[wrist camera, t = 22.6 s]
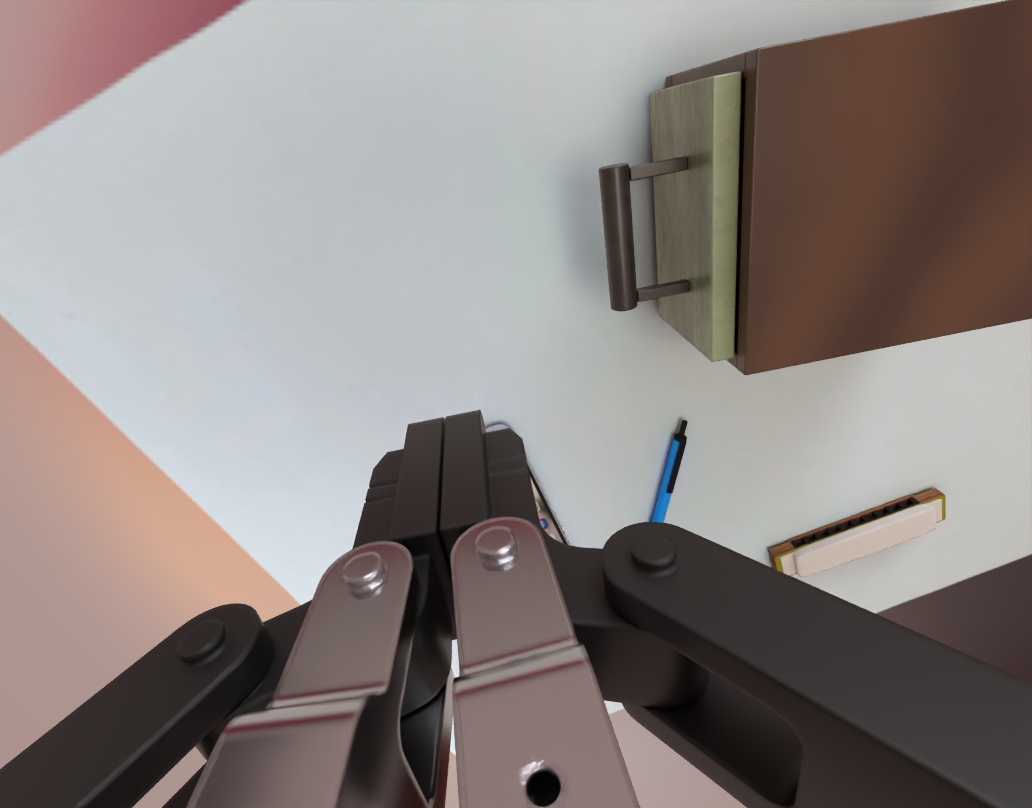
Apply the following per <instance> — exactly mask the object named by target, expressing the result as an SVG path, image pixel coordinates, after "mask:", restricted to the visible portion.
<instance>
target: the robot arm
mask: <svg viewBox="0 0 1032 808" xmlns="http://www.w3.org/2000/svg"><path fill="white" fill-rule="evenodd" d="M369 487H370V489H368V492H367V496H366V499H365V500H366V503H364V507H363V511H362V515H361V519H360V522H359V526H358V530H357V534H356V538H355V542H354V545H353V549H352V550H351V551H349V552H347V553H345V554H344V555H342V556H341V557H340V558H338V559H337V560H336V561H335V562H334V563H332V565H331V566H330V567H329V568H328V569H327V570H326V572H325V573H324V574H323V576H322V578H321V580H320V582H319V584H318V587H317V589H316V592H315V594H314V597H313V599H312V600H311V601H309V602H307V603H305V604H303V605H301V606H299V607H296V608H294V609H292V610H290V611H288V612H285V613H283V614H281V615H279V616H276V617H274V618H272V619H270V620H268V621H265V622H262V620H261V619H260V617H259V615H258V614H257V612H256V610H255V609H253V608H252V607H251V606H248V605H246V604H227V605H222V606H219V607H215V608H213V609H210V610H208V611H206V612H204V613H202V614H200V615H198V616H196V617H194V618H193V619H191V620H189V621H188V622H187V623H185V624H184V625H182V626H181V627H180V628H178V629H177V630H176V631H175V632H173V633H172V634H171V635H170V636H168V637H167V638H166V639H164V640H163V641H162V642H161V643H159V644H158V645H157V646H156V647H154V648H153V649H152V650H151V651H149V652H148V653H147V654H145V655H144V656H143V657H142V658H141V659H139V660H138V661H137V662H135V663H134V664H133V665H132V666H130V667H129V668H128V669H126V670H125V671H124V672H123V673H121V674H120V675H119V676H118V677H116V678H115V679H114V680H113V681H111V682H110V683H109V684H107V685H106V686H105V687H104V688H102V689H101V690H100V691H99V692H98V693H96V694H95V695H94V696H92V697H91V698H90V699H88V700H87V701H86V702H85V703H84V704H82V705H81V706H80V707H78V708H77V709H76V710H75V711H73V712H72V713H71V714H70V715H69V716H67V717H66V718H64V720H62V721H61V722H59V723H58V724H57V725H56V726H54V727H53V728H52V729H51V730H49V731H48V732H47V733H46V734H44V735H43V736H42V737H41V738H39V739H38V740H37V741H35V742H34V743H33V744H32V745H30V746H29V747H28V748H27V749H25V750H24V751H23V752H21V753H20V754H19V755H18V756H16V757H15V758H14V759H13V760H11V761H10V762H9V763H7V764H6V765H5V766H4V767H3V768H2V769H0V808H132V807H133V806H134V805H135V804H136V803H137V802H138V801H139V800H140V799H141V798H142V797H143V796H144V795H145V794H146V793H147V792H148V791H149V790H150V789H151V788H152V787H154V786H155V784H156V783H158V782H159V780H160V779H162V778H163V777H164V776H165V774H167V773H168V772H169V771H170V770H171V769H172V768H173V767H174V766H175V765H176V764H177V763H178V762H179V761H180V760H181V759H182V758H183V757H184V756H185V755H186V754H187V753H188V752H189V751H191V749H193V748H194V747H195V746H196V748H197V749H198V750H199V751H200V753H201V754H202V755H203V756H204V758H205V759H206V760H207V762H206V763H205V765H203V766H202V767H201V768H200V769H199V770H198V771H197V772H196V773H195V774H194V775H193V776H192V777H191V779H190V780H189V781H188V782H187V783H186V784H185V785H184V786H183V787H182V788H181V789H180V790H179V791H178V792H177V793H176V794H175V795H174V796H173V797H172V798H171V799H170V800H169V801H168V802H167V803H166V804H165V805H164V806H163V807H162V808H445V800H446V787H447V776H448V764H449V753H450V741H451V729H452V718H453V719H454V734H455V749H456V763H457V780H458V795H459V808H640V806H639V803H638V800H637V797H636V794H635V791H634V788H633V785H632V782H631V779H630V776H629V773H628V770H627V767H626V765H625V762H624V759H623V756H622V753H621V750H620V747H619V744H618V741H617V738H616V735H615V733H614V730H613V726H612V723H611V720H610V718H609V715H608V712H607V709H606V706H605V703H604V700H606V701H613V702H620V703H622V704H623V706H624V708H625V709H626V711H627V712H628V713H629V714H630V716H631V717H633V718H634V719H635V720H636V721H637V722H639V723H640V724H641V725H642V726H643V727H645V728H646V729H647V730H649V731H650V732H651V733H652V734H654V735H655V736H656V737H658V738H659V739H660V740H661V741H663V742H664V743H665V744H667V745H668V746H669V747H670V748H672V749H673V750H674V751H675V752H677V753H678V754H679V755H681V756H682V757H683V758H684V759H686V760H687V761H688V762H690V763H691V764H692V765H693V766H695V767H696V768H697V769H699V770H700V771H701V772H703V773H704V774H705V775H706V776H707V777H709V778H710V779H711V780H713V781H714V782H715V783H716V784H718V785H719V786H720V787H722V788H723V789H724V790H725V791H727V792H728V793H729V794H731V795H732V796H733V797H734V798H736V799H737V800H738V801H740V802H741V803H742V804H743V805H745V806H746V807H747V808H1032V683H1030V682H1028V681H1026V680H1023V679H1021V678H1019V677H1017V676H1014V675H1012V674H1010V673H1007V672H1005V671H1003V670H1001V669H998V668H996V667H994V666H992V665H989V664H987V663H985V662H983V661H981V660H978V659H976V658H974V657H971V656H969V655H967V654H965V653H962V652H960V651H958V650H956V649H953V648H951V647H949V646H946V645H944V644H942V643H940V642H938V641H935V640H933V639H931V638H929V637H926V636H924V635H922V634H920V633H917V632H915V631H913V630H911V629H908V628H906V627H904V626H901V625H899V624H897V623H895V622H892V621H890V620H888V619H886V618H884V617H881V616H879V615H877V614H875V613H872V612H870V611H868V610H866V609H863V608H861V607H859V606H856V605H854V604H852V603H850V602H847V601H845V600H843V599H841V598H838V597H836V596H834V595H832V594H829V593H827V592H825V591H823V590H820V589H818V588H816V587H814V586H811V585H809V584H807V583H805V582H802V581H800V580H798V579H796V578H793V577H791V576H789V575H787V574H784V573H782V572H780V571H778V570H775V569H773V568H771V567H768V566H766V565H764V564H762V563H759V562H757V561H755V560H753V559H750V558H748V557H746V556H744V555H741V554H739V553H737V552H735V551H732V550H730V549H728V548H726V547H723V546H721V545H719V544H717V543H714V542H712V541H710V540H708V539H705V538H703V537H701V536H699V535H696V534H694V533H692V532H690V531H687V530H685V529H683V528H680V527H678V526H675V525H671V524H667V523H661V522H643V523H637V524H633V525H630V526H627V527H625V528H623V529H621V530H619V531H617V532H616V533H615V534H613V535H612V536H611V537H610V538H609V539H608V540H607V542H606V544H605V545H604V547H603V549H597V548H582V547H575V546H570V545H567V544H564V543H561V542H559V541H557V540H556V539H554V538H552V537H551V536H550V535H548V533H547V532H546V531H545V530H544V529H543V527H542V526H541V523H540V520H539V516H538V511H537V507H536V502H535V497H534V492H533V488H532V483H531V478H530V474H529V469H528V464H527V459H526V455H525V450H524V445H523V440H522V438H520V437H519V436H518V435H517V434H516V433H515V432H514V431H512V430H511V429H510V428H506V429H501V430H496V431H491V432H486V429H485V425H484V421H483V417H482V413H481V410H477V411H472V412H467V413H462V414H457V415H452V416H447V417H446V419H445V418H444V417H442V418H437V419H432V420H427V421H422V422H417V423H412V424H409V425H408V428H407V433H406V439H405V445H404V449H401V450H396V451H391V452H387V453H386V455H385V456H384V457H383V458H382V459H381V460H380V462H379V463H378V464H377V465H376V466H375V468H374V469H373V473H372V476H371V480H370V484H369ZM455 639H457V644H458V656H459V669H460V676H459V677H457V678H454V674H453V671H452V668H451V661H452V640H455Z"/></svg>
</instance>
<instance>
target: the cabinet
mask: <svg viewBox="0 0 1032 808" xmlns="http://www.w3.org/2000/svg"><path fill="white" fill-rule="evenodd" d="M737 71H740V72H741V92H743V91H745V116H744V149H743V183H742V216H741V249H740V283H739V316H738V322H737V321H735V335H734V358H730V359H726V360H727V361H728V362H730V363H731V364H732V365H733V366H735V367H736V368H737V369H738V370H739V371H740V372H742V373H743V374H744V375H750V374H755V373H760V372H765V371H770V370H775V369H780V368H785V367H790V366H795V365H800V364H805V363H810V362H815V361H820V360H825V359H830V358H835V357H840V356H845V355H850V354H855V353H860V352H865V351H870V350H875V349H880V348H885V347H890V346H895V345H901V344H906V343H911V342H916V341H921V340H926V339H931V338H936V337H941V336H946V335H951V334H956V333H961V332H966V331H971V330H976V329H981V328H986V327H991V326H996V325H1001V324H1006V323H1011V322H1016V321H1021V320H1026V319H1031V318H1032V0H1006V1H1001V2H996V3H991V4H986V5H980V6H975V7H970V8H965V9H960V10H955V11H949V12H944V13H939V14H934V15H929V16H923V17H918V18H913V19H908V20H903V21H898V22H892V23H887V24H882V25H877V26H872V27H867V28H861V29H856V30H851V31H846V32H841V33H835V34H830V35H825V36H820V37H815V38H810V39H804V40H799V41H794V42H789V43H784V44H778V45H773V46H768V47H763V48H758V49H755V50H751V51H748V52H745V53H742V54H739V55H735V56H732V57H729V58H726V59H722V60H719V61H716V62H713V63H710V64H706V65H703V66H700V67H697V68H693V69H690V70H687V71H684V72H680V73H677V74H674V75H671V76H668V77H666V88H669V87H673V86H677V85H681V84H685V83H689V82H693V81H697V80H701V79H704V78H708V77H712V76H717V75H722V74H727V73H732V72H737Z"/></svg>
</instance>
